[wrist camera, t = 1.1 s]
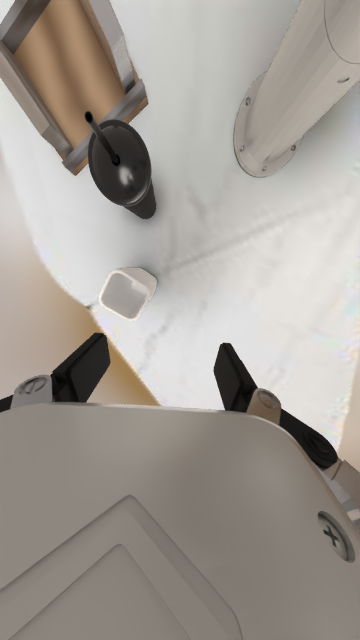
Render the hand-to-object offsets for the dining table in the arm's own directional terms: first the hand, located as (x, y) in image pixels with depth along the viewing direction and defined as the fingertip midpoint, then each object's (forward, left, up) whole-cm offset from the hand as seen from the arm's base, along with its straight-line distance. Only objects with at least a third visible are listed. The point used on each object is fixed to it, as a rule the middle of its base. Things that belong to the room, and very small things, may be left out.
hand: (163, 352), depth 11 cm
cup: (+6, -5, -28) cm, 29 cm away
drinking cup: (-4, -18, -28) cm, 34 cm away
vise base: (-4, -36, -28) cm, 46 cm away
